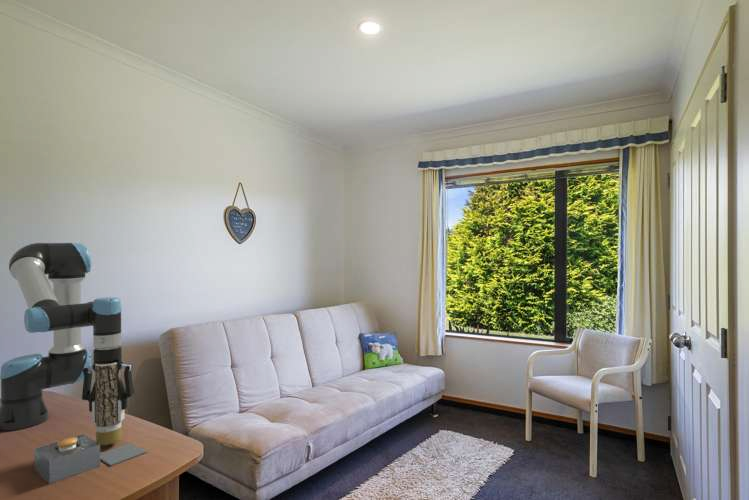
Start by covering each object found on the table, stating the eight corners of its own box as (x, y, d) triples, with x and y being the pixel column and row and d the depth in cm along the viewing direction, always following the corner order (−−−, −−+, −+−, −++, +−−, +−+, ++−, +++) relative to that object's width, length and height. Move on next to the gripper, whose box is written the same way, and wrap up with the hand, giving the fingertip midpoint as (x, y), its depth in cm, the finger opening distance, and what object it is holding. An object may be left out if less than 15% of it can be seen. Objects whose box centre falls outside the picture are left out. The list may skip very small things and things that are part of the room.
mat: (96, 456, 128) (96, 455, 128) (131, 444, 136) (131, 443, 136) (110, 466, 122) (110, 464, 122) (146, 452, 130) (146, 451, 130)
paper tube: (122, 442, 134) (121, 362, 134) (96, 448, 131) (95, 365, 131) (120, 434, 140) (119, 357, 140) (96, 440, 136) (95, 360, 136)
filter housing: (34, 470, 120) (34, 449, 120) (83, 454, 130) (83, 434, 130) (49, 484, 113) (49, 461, 113) (100, 465, 122) (100, 444, 122)
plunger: (55, 465, 121) (54, 441, 121) (74, 459, 124) (73, 435, 124) (61, 470, 118) (60, 445, 118) (80, 463, 122) (80, 439, 122)
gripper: (66, 351, 130) (67, 427, 130) (136, 348, 133) (137, 423, 133) (80, 346, 138) (81, 418, 138) (145, 343, 140) (146, 414, 140)
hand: (108, 420), depth 135 cm, fingers closed on paper tube, 7 cm apart
